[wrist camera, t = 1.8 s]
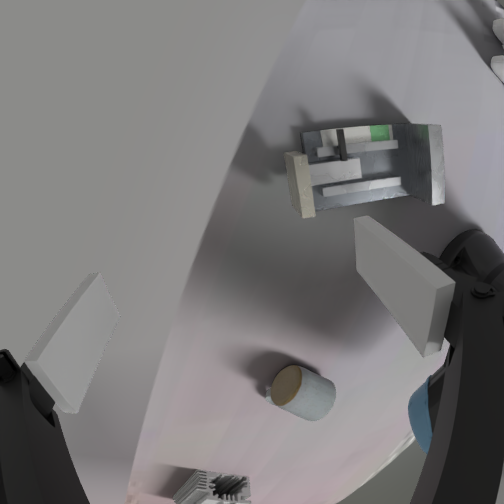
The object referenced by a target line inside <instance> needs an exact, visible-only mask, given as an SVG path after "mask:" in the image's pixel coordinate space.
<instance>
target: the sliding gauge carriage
mask: <svg viewBox="0 0 504 504" xmlns="http://www.w3.org/2000/svg"><path fill="white" fill-rule="evenodd" d="M336 134H337V140H338V147H339V155H340V159H334V160H327V161H320V162H314V163H308V158H307V154H303V153H300V152H297V151H291V152H285V153H284V159H285V165H286V171H287V177H288V183H289V189H290V195H291V202H292V206H293V207H294V208H295V210H296V211H297V212H298V213H299V215H300V216H301V217H302V218H303V219H304V218H310V217H315V216H316V215H315V207H314V200H313V192H312V186H313V185H319V184H326V183H332V182H338V181H345V180H351V179H358V178H362V175H361V165H360V158H357V157H350V158H347V150H346V143H345V136H344V129H336Z"/></svg>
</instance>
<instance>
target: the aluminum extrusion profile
mask: <svg viewBox="0 0 504 504" xmlns="http://www.w3.org/2000/svg"><path fill="white" fill-rule="evenodd" d="M249 481H250V480H249V477H248V476H239V475H231V474H224V473H217V472H211V471H205V470H200V469H197V470H196V471H195V472H194V474H193V475H192V476H191V477H190V478H189V479H188V480H187V482H186V483H185V484H184V485H183V486H182V487H181V488H180V489H179V490H178V491H177V493H176V494H175V495H174V496H173V497H174V498H173V500H175V501H174V502H175V503H176V504H251V501H249V500H245V499H247V498H249V497H250V496H251V494H250V485H249V484H250V482H249Z"/></svg>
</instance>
